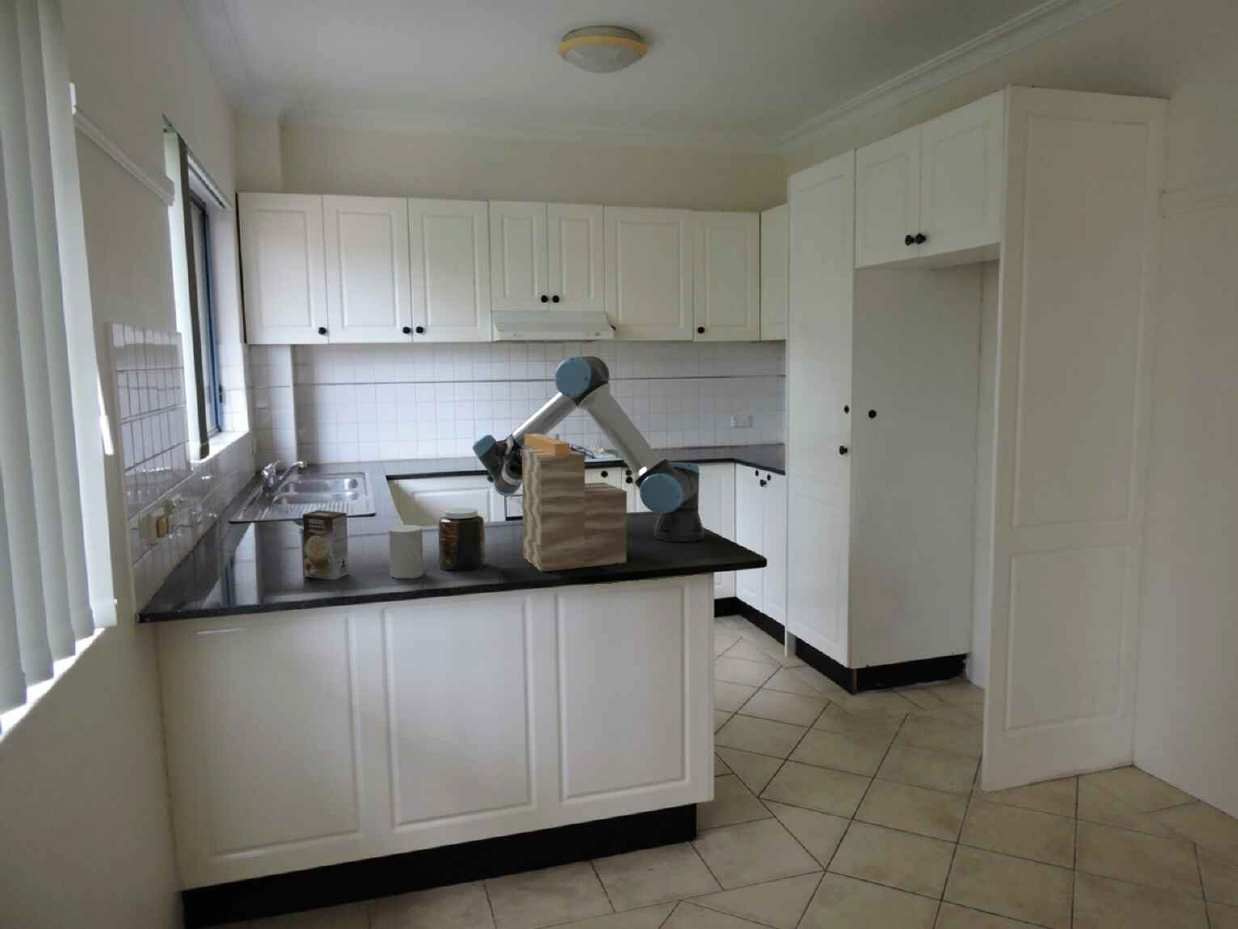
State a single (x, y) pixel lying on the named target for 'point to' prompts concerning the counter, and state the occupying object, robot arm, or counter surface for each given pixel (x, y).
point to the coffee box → (325, 544)
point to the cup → (406, 551)
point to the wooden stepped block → (569, 514)
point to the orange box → (547, 444)
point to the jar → (461, 540)
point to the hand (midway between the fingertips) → (535, 439)
